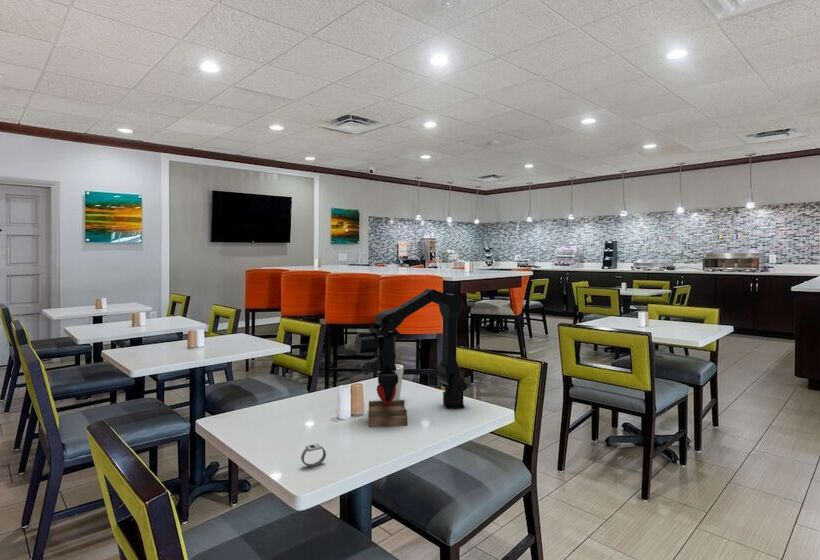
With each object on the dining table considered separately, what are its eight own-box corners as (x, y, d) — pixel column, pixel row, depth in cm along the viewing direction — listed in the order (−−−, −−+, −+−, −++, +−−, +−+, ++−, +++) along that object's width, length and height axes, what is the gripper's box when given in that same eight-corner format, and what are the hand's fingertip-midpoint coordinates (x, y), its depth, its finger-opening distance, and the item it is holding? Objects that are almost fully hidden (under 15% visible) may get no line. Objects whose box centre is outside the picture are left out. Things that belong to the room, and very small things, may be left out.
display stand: (403, 409, 164) (403, 397, 163) (407, 425, 148) (407, 412, 148) (368, 410, 163) (368, 399, 162) (369, 426, 147) (368, 414, 146)
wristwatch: (323, 460, 122) (323, 441, 122) (327, 464, 120) (327, 445, 120) (300, 466, 119) (299, 446, 119) (303, 470, 117) (303, 450, 117)
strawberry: (385, 410, 150) (385, 379, 150) (372, 405, 156) (372, 375, 156) (400, 406, 154) (400, 376, 153) (387, 401, 160) (387, 372, 159)
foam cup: (406, 399, 176) (406, 364, 175) (400, 406, 167) (400, 370, 166) (381, 397, 178) (381, 363, 177) (374, 404, 169) (374, 369, 168)
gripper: (362, 346, 163) (363, 391, 163) (361, 357, 144) (362, 407, 145) (394, 345, 164) (395, 389, 164) (398, 356, 145) (398, 406, 146)
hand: (387, 398), depth 155 cm, fingers closed on strawberry, 7 cm apart
